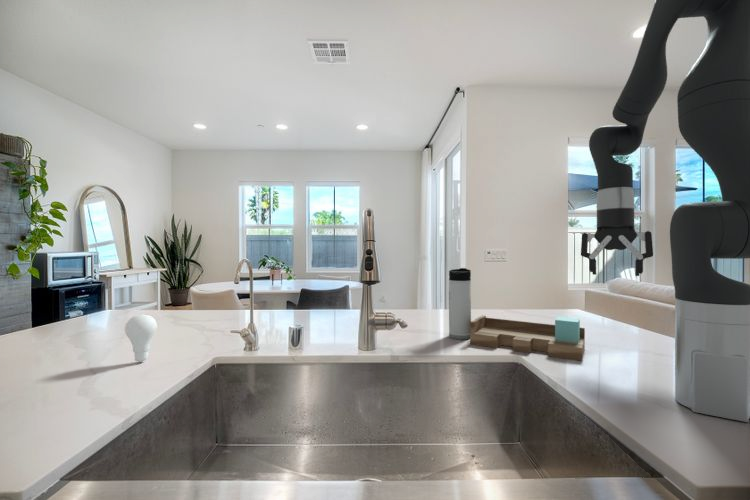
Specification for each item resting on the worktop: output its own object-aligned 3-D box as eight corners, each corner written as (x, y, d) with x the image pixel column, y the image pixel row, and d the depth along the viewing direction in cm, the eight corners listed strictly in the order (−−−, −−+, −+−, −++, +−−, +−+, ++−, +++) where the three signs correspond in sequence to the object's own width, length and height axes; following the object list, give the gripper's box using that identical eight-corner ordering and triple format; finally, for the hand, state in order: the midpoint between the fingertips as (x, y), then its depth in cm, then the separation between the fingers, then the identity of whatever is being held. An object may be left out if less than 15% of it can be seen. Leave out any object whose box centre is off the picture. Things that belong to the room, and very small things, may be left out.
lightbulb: (160, 362, 80) (160, 314, 80) (128, 368, 75) (128, 318, 75) (152, 356, 84) (152, 311, 84) (122, 362, 79) (121, 314, 79)
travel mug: (474, 335, 103) (474, 268, 103) (467, 340, 97) (467, 269, 97) (453, 333, 106) (453, 267, 106) (445, 337, 101) (445, 268, 100)
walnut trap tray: (582, 361, 79) (582, 334, 79) (470, 344, 94) (470, 321, 94) (584, 349, 89) (584, 325, 89) (482, 335, 103) (482, 315, 103)
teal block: (578, 342, 84) (578, 322, 84) (555, 339, 86) (555, 319, 86) (579, 338, 88) (579, 318, 88) (557, 335, 91) (557, 316, 91)
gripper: (579, 208, 85) (579, 274, 85) (653, 204, 77) (654, 277, 77) (582, 211, 91) (582, 273, 91) (651, 207, 83) (651, 275, 83)
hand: (615, 275), depth 84 cm, fingers open, 8 cm apart
